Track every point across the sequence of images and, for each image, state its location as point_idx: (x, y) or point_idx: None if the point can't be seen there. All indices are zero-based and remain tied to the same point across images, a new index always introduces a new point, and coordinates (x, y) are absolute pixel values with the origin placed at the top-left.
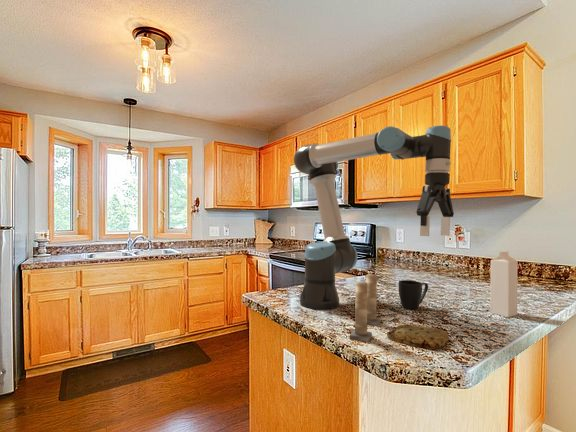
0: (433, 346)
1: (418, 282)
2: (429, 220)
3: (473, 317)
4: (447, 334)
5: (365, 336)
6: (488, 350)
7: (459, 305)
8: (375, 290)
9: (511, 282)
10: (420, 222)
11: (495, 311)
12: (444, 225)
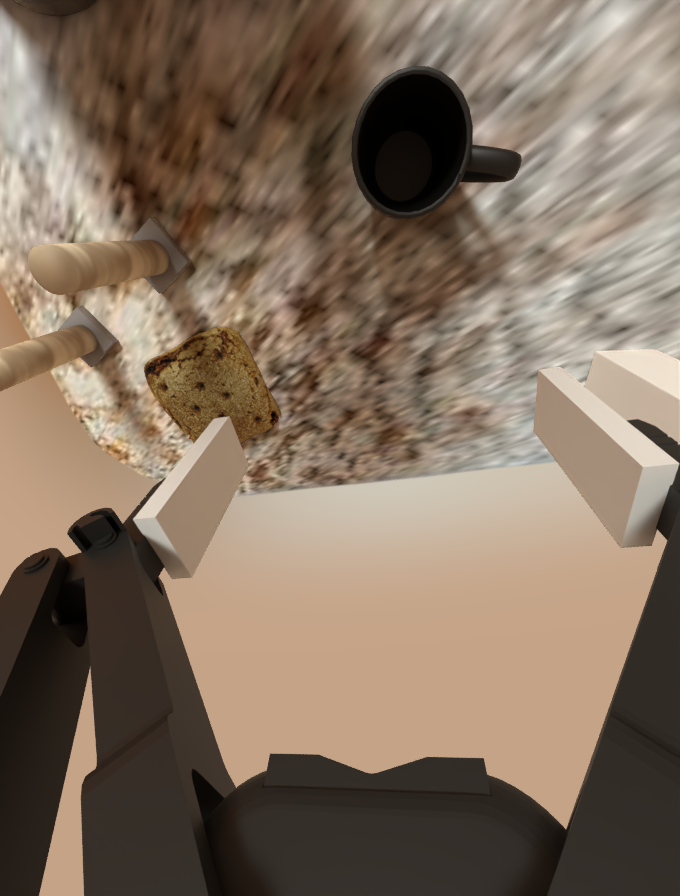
0: None
1: (462, 160)
2: (204, 546)
3: (487, 357)
4: (264, 431)
5: (88, 356)
6: (297, 482)
7: (620, 236)
8: (104, 285)
9: None
10: (167, 476)
11: (593, 369)
12: (578, 443)
